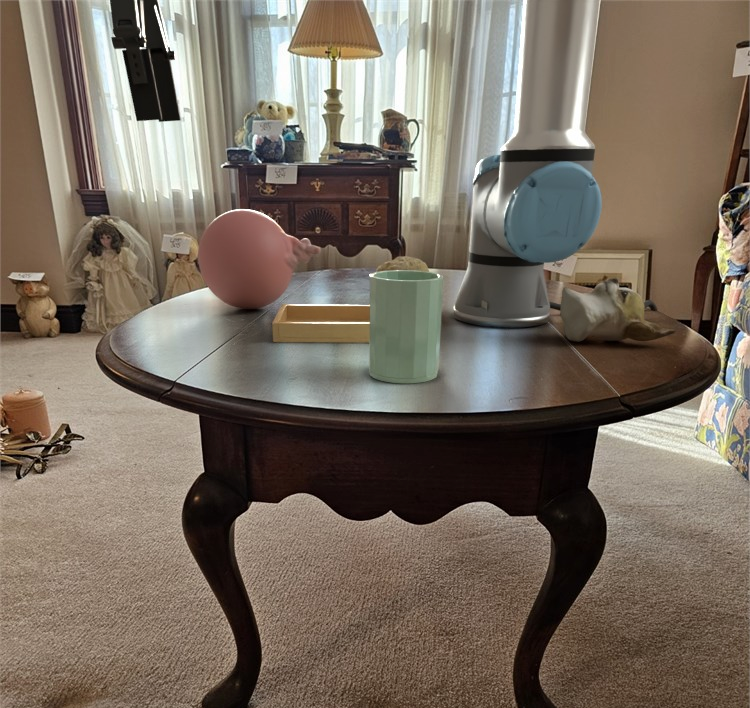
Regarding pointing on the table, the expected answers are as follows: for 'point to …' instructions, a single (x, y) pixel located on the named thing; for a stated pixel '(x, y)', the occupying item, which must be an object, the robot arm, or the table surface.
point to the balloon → (249, 258)
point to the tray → (322, 323)
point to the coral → (403, 265)
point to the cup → (405, 325)
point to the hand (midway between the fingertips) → (160, 121)
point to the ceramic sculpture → (607, 314)
